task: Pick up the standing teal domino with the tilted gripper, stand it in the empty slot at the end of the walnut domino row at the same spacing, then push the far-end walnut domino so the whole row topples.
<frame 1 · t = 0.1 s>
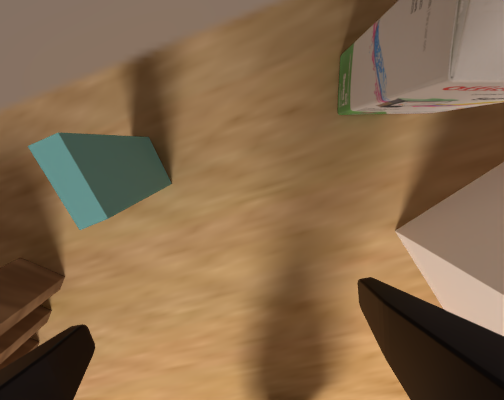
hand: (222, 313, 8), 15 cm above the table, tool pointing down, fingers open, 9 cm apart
ink box: (387, 85, 20), on the table
domino 4: (40, 273, 23), on the table
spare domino: (152, 164, 21), on the table
milk: (473, 243, 23), on the table
domino 3: (28, 307, 24), on the table
domino 2: (16, 339, 25), on the table
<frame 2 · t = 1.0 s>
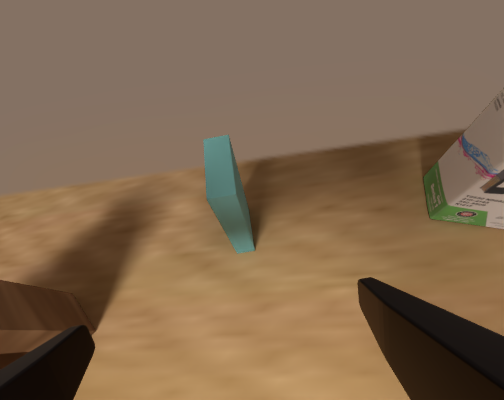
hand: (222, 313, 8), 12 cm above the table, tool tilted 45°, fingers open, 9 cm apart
ink box: (476, 204, 21), on the table
domino 4: (75, 319, 20), on the table
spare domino: (243, 229, 22), on the table
domino 3: (26, 365, 19), on the table
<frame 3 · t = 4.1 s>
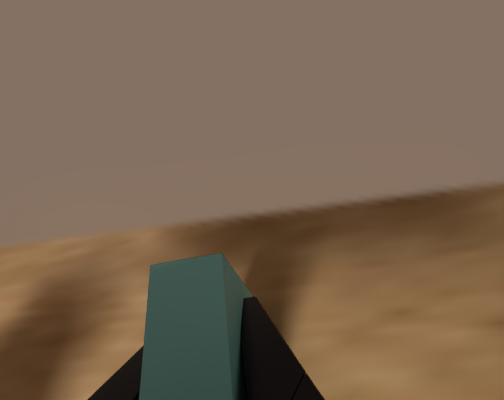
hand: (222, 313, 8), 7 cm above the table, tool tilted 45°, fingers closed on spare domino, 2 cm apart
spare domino: (251, 352, 13), on the table, touching gripper
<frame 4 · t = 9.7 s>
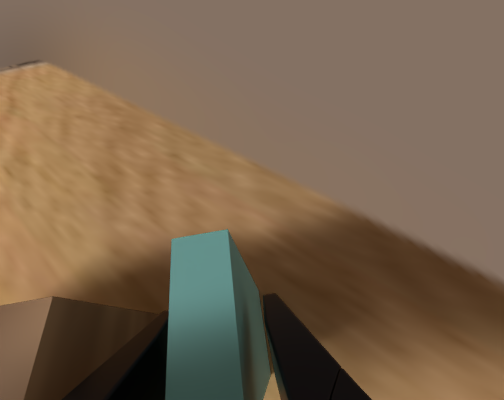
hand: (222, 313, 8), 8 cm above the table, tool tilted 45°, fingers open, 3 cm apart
domino 4: (178, 364, 14), on the table, touching gripper
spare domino: (251, 331, 14), on the table
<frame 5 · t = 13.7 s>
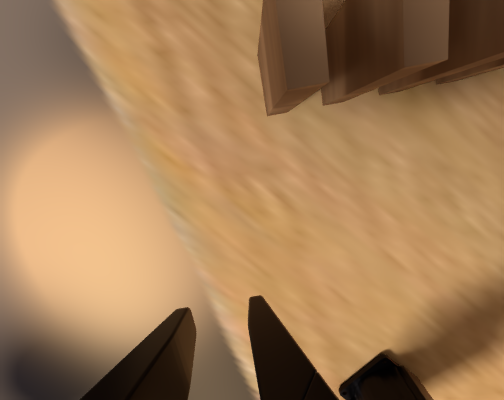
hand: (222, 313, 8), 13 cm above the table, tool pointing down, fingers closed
domino 4: (447, 50, 18), on the table
domino 3: (388, 61, 18), on the table
domino 1: (272, 84, 18), on the table
domino 2: (330, 73, 18), on the table
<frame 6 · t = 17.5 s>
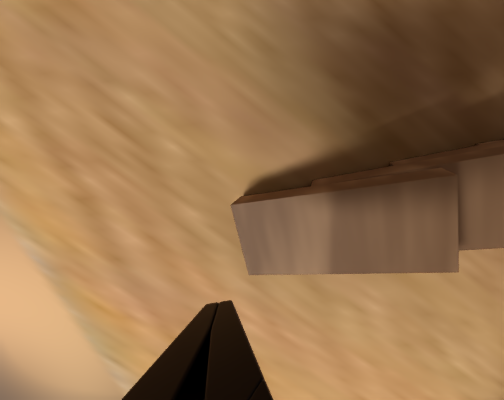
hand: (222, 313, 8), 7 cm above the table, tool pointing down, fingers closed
domino 3: (396, 200, 14), point 1 cm above the table, tilted 71°, touching domino 2, domino 4
domino 1: (244, 235, 14), point 1 cm above the table, tilted 71°, touching domino 2
domino 2: (318, 218, 14), point 1 cm above the table, tilted 71°, touching domino 1, domino 3
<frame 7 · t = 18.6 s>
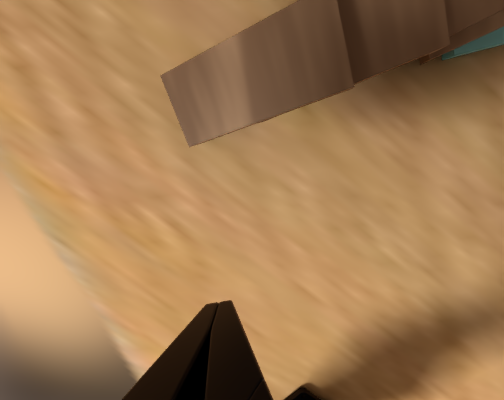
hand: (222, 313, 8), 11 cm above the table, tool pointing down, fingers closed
domino 4: (415, 25, 14), point 1 cm above the table, tilted 72°, touching domino 3, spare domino
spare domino: (443, 21, 15), on the table, tilted 90°, touching domino 4
domino 3: (324, 58, 15), point 1 cm above the table, tilted 71°, touching domino 2, domino 4
domino 1: (182, 112, 15), point 1 cm above the table, tilted 70°, touching domino 2
domino 2: (249, 88, 15), point 1 cm above the table, tilted 70°, touching domino 1, domino 3
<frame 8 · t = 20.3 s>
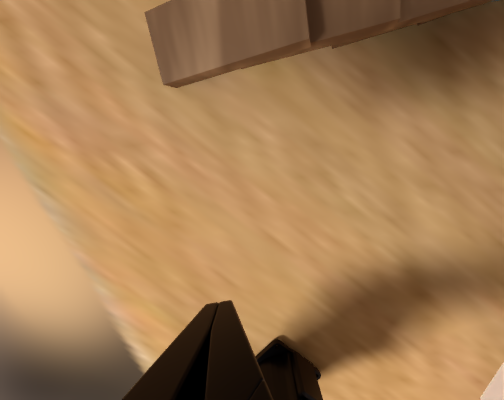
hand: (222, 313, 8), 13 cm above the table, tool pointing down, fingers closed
domino 3: (329, 9, 16), point 1 cm above the table, tilted 67°, touching domino 4
domino 1: (161, 52, 17), point 1 cm above the table, tilted 72°, touching domino 2
domino 2: (232, 31, 16), point 1 cm above the table, tilted 72°, touching domino 1
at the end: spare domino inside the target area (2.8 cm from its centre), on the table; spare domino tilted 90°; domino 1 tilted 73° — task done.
